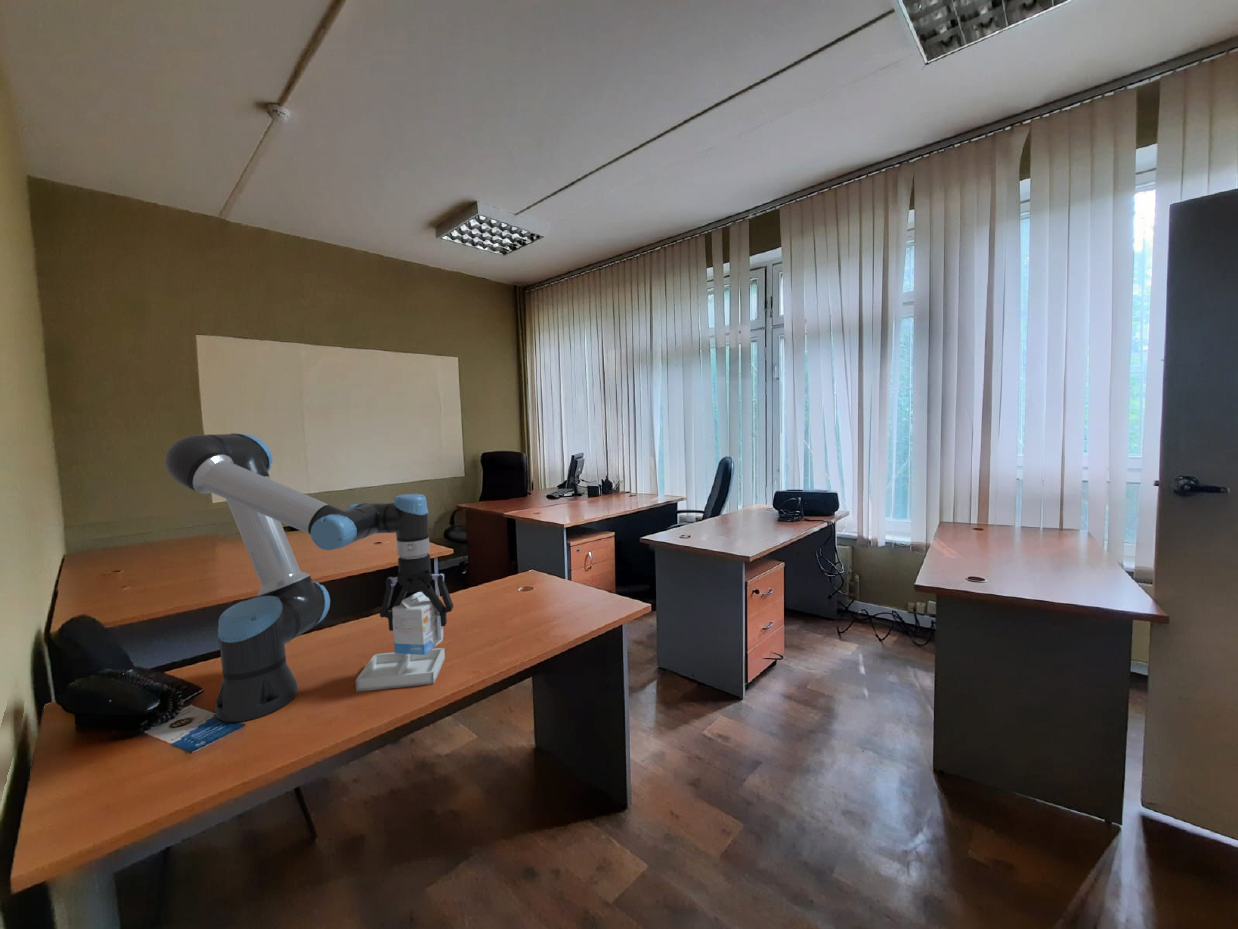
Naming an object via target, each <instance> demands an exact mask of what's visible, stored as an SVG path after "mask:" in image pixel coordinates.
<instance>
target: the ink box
mask: <svg viewBox="0 0 1238 929" xmlns="http://www.w3.org/2000/svg"><path fill="white" fill-rule="evenodd" d="M439 599H440V600H441V597H439ZM392 607H393V606H392ZM392 607H391V609H392V611H393V627H394V637H393V645H394V644H395V645H394V652H395V653H400V654H418V655H425V654H426V653H427V652H429V651H430V650H431V649H435V647H437V646H438V644H440V643H442V642H443V640H444V639H443V638H444V637H443V638H442V640H440V641H438V628H437V615H438V613H439V612H438V611H437V609H436V608H435V606H434V605H433V604H432V602H431V601H430V599H429V598H428V596H427V595H426V594H424V592H423V591H422V592H414V593H413V594H412V595H410V596H408V597H406V598H404V599H403V600H402V603H401V604H400V605H399V606H395V607H393V608H392Z"/></svg>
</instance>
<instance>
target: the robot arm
mask: <svg viewBox="0 0 1238 929" xmlns="http://www.w3.org/2000/svg"><path fill="white" fill-rule="evenodd" d="M273 460H274V459H273V454H272V451H271V449H270V447H269V446H268V445H267V443H265V441H263V439H260V438H258V437H256V436H254V435H251V434H243V433H237V432H236V433H234V432H233V433H225V434H192V435H188V436H185V437H182V438H179V439H178V440H176V441H175V442H173V443H172V445H170V446H169V447H168V449H167V451H166V453H165V456H164V466H165V470H166V472H167V473H168V475H169V476H170V477H171V478H172V479H173V480H174V481H176V483H178V484H180V485H182V486H184V487H186V488H187V489H189V490H192V491H194V492H197V493H200V494H201V495H208V494H214V495H217V496H218V497H221V498H223V499H225V500H226V502H227V505H228V508H229V510H230V512H231V514H232V517H233V520H234V523H235V524H236V527H237V530H238V531H239V534H240V536H241V538H242V541H243V544H244V546H245V549H246V551H247V553H248V556H249V558H250V560H251V563H252V565H253V568H254V570H255V572H256V575H257V578H258V580H259V581H260V585H261V587H260V589H259V591H258V593H257V596H256V597H252V598H249V599H248V600H243V601H242V600H241V601H240V602H237V603H235V604H233V605H231V606H230V607H228V608H227V609H226V610H224V611H223V612H222V613H221V614H220V617H219V618H218V629H217V637H218V642H219V650H220V652H219V653H220V654H219V655H220V661H221V662H220V663H221V670H222V682H221V685H220V689H219V692H218V696H217V699H216V702H215V706H214V708H215V717H216V719H217V718H218V719H220V720H222V721H221V722H226V723H238V722H245V721H250V720H253V719H254V720H255V719H258V718H260V717H261V718H262V717H263V716H266V715H268V714H269V715H270V714H271V713H273V712H276V711H277V710H280V709H282V708H284V707H285V706H287V705H288V704H289V703H291V702H292V701H293V700H294V699H295V698H296V696H297V695H298V692H299V691H298V682H297V680H296V678H295V677H294V675H293V673H292V671H291V669H290V666H289V665H288V663H287V657H286V644H288V643H290V642H291V641H292V640H294V639H295V638H297V637H299V636H300V635H302V634H303V633H305V632H307V631H310V630H311V629H313V628H314V627H316V626H317V625H318V624H319V623H321V622H322V621H323V620H324V619H325V617H326V616H327V615H328V612H329V610H330V607H331V606H330V605H331V597H330V593H329V592H328V590H327V589H326V587H325V586H324V585H323V584H320V583H319V582H318V581H314V580H313V579H312V576H311V575H310V573H307V572H304V571H302V570H301V568H300V566H299V563H298V561H297V558H296V556H295V554H294V552H293V548H292V546H291V544H290V542H289V539H288V537H287V534H286V532H285V530H284V527H283V525H284V524H285V525H287V526H289V527H291V528H294V529H296V530H299V531H301V532H302V533H306V534H308V535H310V536H311V537H310V538H311V540H312V542H313V543H314V544H315V545H316V546H317V547H318V548H320V549H321V550H326V551H333V550H336V549H341V548H345V547H348V546H349V545H351V544H353V543H354V542H357V541H361V540H363V539H365V538H368V537H370V536H372V535H375V534H395V535H396V550H397V556H398V559H397V563H398V564H397V565H398V575H397V576H395V577H394V576H389V577H388V578H387V579H385V592H384V596H383V601H382V603H381V604H382V605H381V608H380V612H379V617H380V618H386V619H387V620H388V621H387V622H388V630H389V631H390V632H392V633H393V638H394V627H393V611H392V608H393V607H395V606H399V605H400V604H401V603H402V600H404V599H405V597H406V596H407V593H417V592H422V593H423V594H424V595H425V596H426V597H428V598H429V599H430V601H431V602H432V604H433V605H434V606H435V608H436V609H437V611H438V612H439V613H438V615H437V628H438V641H440V640H442V638H444V627H446V625H447V623H448V621H447V620H448V618H447V617H448V616H447V613H450V612H452V610H453V609H454V604H453V601H452V597H451V596H450V592H449V591H448V587H447V585H446V582H445V573H444V572H441V573H438V574H437V573H436V574H435V573H433V572H432V566H431V565H432V564H431V555H430V554H429V553H430V552H431V548H430V546H431V545H430V535H429V509H428V505H427V504H428V503H427V498H426V496H425V495H424V494H423V493H422V494H421V493H404V494H399V495H397V496H395V497H394V499H393V502H391V503H390V502H389V503H382V502H381V503H376V502H375V503H372V502H371V503H368V502H363V503H355V504H354V503H353V504H351V505H349V506H348V508H347V509H345V510H343V509H341V508H338V507H335V506H332V505H330V504H328V503H326V502H325V501H321V500H319V499H317V498H314V497H312V496H310V495H308V494H305V493H304V492H300V491H298V490H295V489H294V488H292V487H289V486H286V485H284V484H282V483H280V482H278V481H275V480H273V479H271V476H270V474H269V472H270V470H271V468H272V465H271V464H273ZM432 580H434V582H435V584H437V588H438V590H439V592H440V596H441V598H440V597H439V596H438V595H437V593H436V592H435V590H434V589H433V586H432V584H431V582H432ZM397 583H398V584H399V585H400V586H401V587H402V588H401V590H400V592H399V594H398V596H397V598H396V600H395V602H394V604H393V606H392V607H391V609H390V604H391V601H392V596H393V593H394V589H395V586H396V585H397ZM439 598H440V599H439ZM441 599H442V600H441ZM389 609H390V610H389ZM442 641H443V640H442ZM393 645H394V646H395V644H394V643H393ZM218 719H217V720H218ZM220 720H219V721H220Z"/></svg>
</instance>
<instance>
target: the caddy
mask: <svg viewBox="0 0 1238 929" xmlns="http://www.w3.org/2000/svg"><path fill="white" fill-rule="evenodd" d="M445 659H446V656H445V647H438V648H432V649H431V650H430V651H429V652H427V653H426V654H425V655H418V654H400V653H395V651H393V652H384V653H374V655H373V656H372V657H371V659H370V660H369V662H367V664H366V665H365V666H364V668H362V669H363V670H362V671H361V672H360V673H359V674H358V676H357V677H356V678H355V690H356V691H355V692H356V693H357V692H368V691H377V690H387V689H399V688H407V687H409V688H410V687H417V686H418V687H419V686H427V685H434V684H435V682H436V679H437V677H438V676H439V673H440V671H441V669H442V666H443V664H444V662H445Z"/></svg>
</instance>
